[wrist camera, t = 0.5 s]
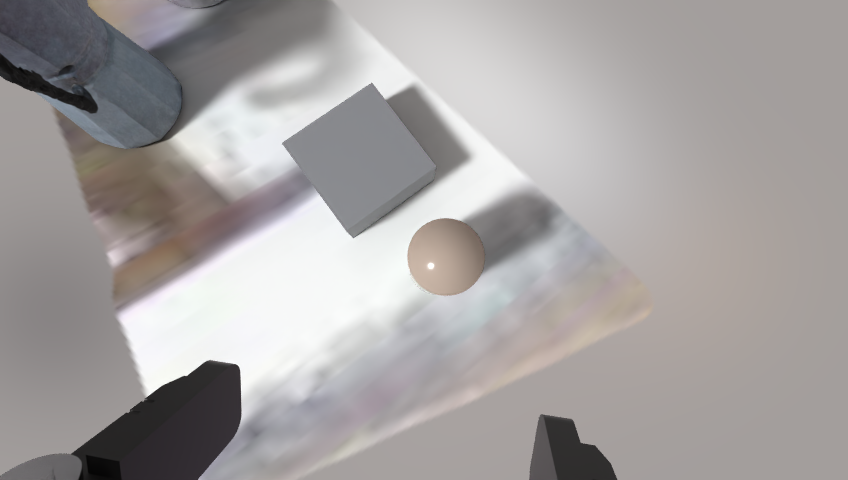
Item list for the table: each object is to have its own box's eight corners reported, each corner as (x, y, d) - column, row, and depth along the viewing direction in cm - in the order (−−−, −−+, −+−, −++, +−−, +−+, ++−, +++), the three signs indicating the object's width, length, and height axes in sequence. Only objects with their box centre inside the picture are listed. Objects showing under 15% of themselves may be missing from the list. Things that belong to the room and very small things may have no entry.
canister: (396, 260, 36) (392, 248, 27) (442, 226, 37) (453, 203, 28) (431, 307, 36) (438, 311, 27) (477, 272, 36) (500, 264, 27)
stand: (295, 159, 37) (281, 143, 33) (375, 104, 38) (371, 82, 34) (353, 237, 36) (346, 230, 32) (433, 180, 37) (436, 166, 33)
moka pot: (134, 16, 38) (-161, -284, 18) (234, 136, 37) (32, -48, 17) (46, 76, 37) (-367, -175, 17) (146, 201, 36) (-177, 86, 16)
